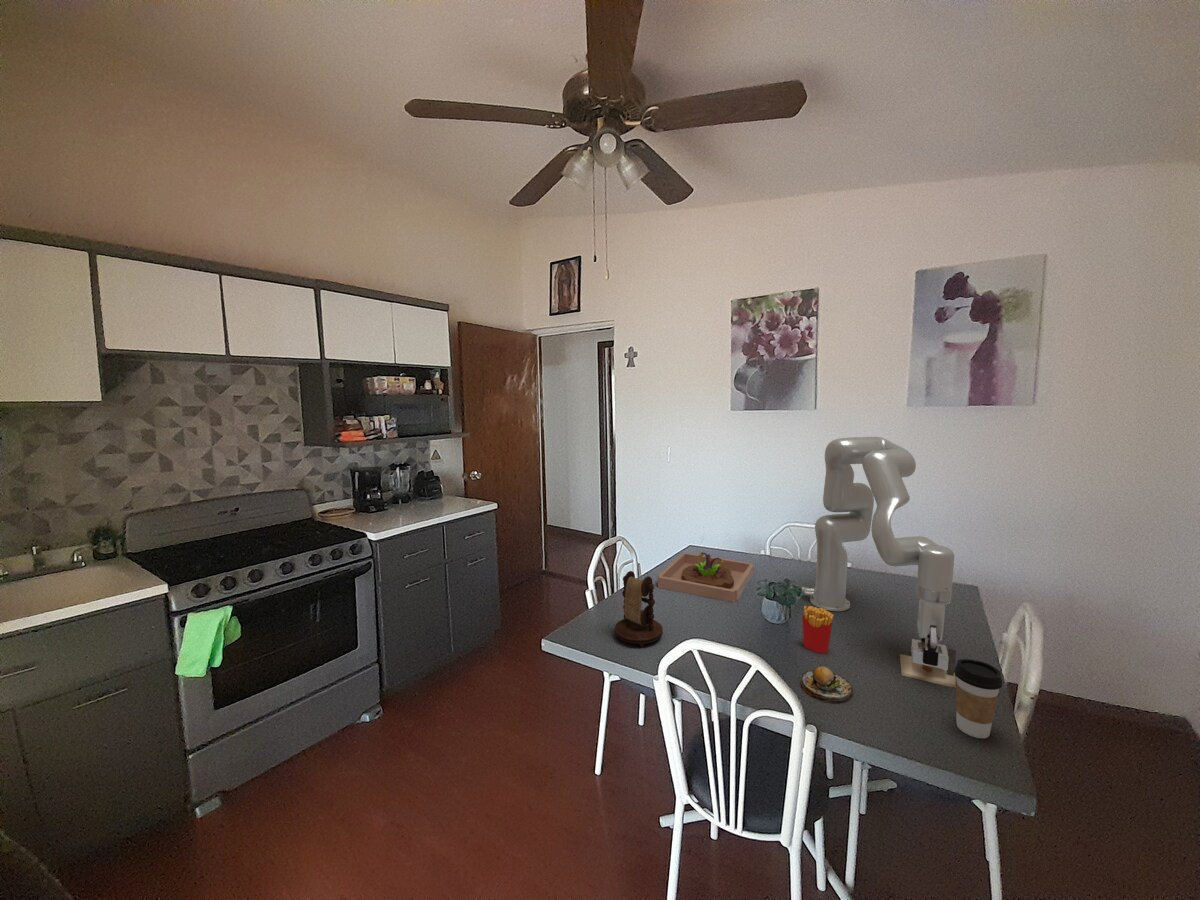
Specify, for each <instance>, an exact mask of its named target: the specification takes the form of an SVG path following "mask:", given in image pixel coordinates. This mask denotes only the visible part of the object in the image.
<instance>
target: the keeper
mask: <svg viewBox="0 0 1200 900" xmlns="http://www.w3.org/2000/svg"><path fill="white" fill-rule="evenodd" d="M924 648H925V645H924V647H923V649H924ZM956 649H957V648H956V647H955V646H950V645H949V646H948V649H947V653H948V657H949V660H948V670H945V669H940V668H936V667H931V666H927V665H922V664H917V663H913V662H912V655H907V654H902V653H901V654H900V653H899V659H900V671H901V672H900V673H901V674H900V675H901V676H903V677H906V678H911V679H916V680H920V681H925V682H928V683H931V684H935V685H941V686H945V687H949V688H955V689H956V686H955V681H956V675H955V673H954V670H955V667H956V665H955V664H956V656H957V650H956Z"/></svg>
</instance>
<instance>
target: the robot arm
mask: <svg viewBox="0 0 1200 900" xmlns="http://www.w3.org/2000/svg"><path fill="white" fill-rule="evenodd" d="M824 462H825V477H824V484H823V485H824V487H823V495H822V496H823V497H822V503H823V507H824V508H825V510H827V511H828V512H831V513H833V514H827V515H822V516H821V517H819V518H818V519H816V522H815V523H814V532H815V538H816V570H815V571H816V573H815V586H814V587H807V586H801V593H804V595H805V596H810V598H809V601H810V603H811V604H812V605H813V606H814V607H817V608H819V609H820V608H823V609H826V611H829V612H830V611H831V612H844V611H848V610H849V609H850V608H851V602H850V600H848V599H847V598H846V596H847V595H846V593H847V592H846V591H847V577H848V574H847V573H848V554H847V551H846V549H845V548H844V546H843V545H842V544H844V543H850V542H851V543H852V542H860V541H864V540H866V539H867V538H868V536H869V535H870V532H871V535H872V540H873V542H874V545H875V548H876V551H877V553H878V555H879V556H880V558H881V560H882V561H883V562H884V563H885V564H886V565H888V566H891V567H895V568H896V567H909V566H917V579H916V589H915V593H916V594H915V597H916V598H917V599H919V602H918V603H919V604H918V611H917V623H916V624H917V633H918V636H919V638H920V641H925V648H924V649H923V663H924V664H928V665H933V666H938V654H939V651H938V644H939V642H941V641H943V634H944V625H945V615H946V614H945V613H946V605H950V603H951V601H952V590H953V576H954V564H955V553H954V551H953V550H952V549H950V548H949V547H947V546H943V545H939V544H937V543H936V542H934V541H933V540H932V539H930V538H928V537H926V536H919V535H918V536H906V537H895V534H894V532H893V530H892V524H891V523H892V522H891V521H892V517H893V514H894V512H895V511H896V510H897V509H900V508H901V507H903V506H905V505H906V504H908V503H909V501H910V499H911V496H910V494H909V492H908V490H907V486H906V485H905V482H904V480H903V478H907V477H910V476H912V475H913V474H914V473H915V471H916V467H917V465H916V464H917V463H916V459H915V458H914V455H912V453H911V452H909V451H908V450H907V449H905V448H904V447H902V446H900V445H898V444H896V443H894V442H892V441H891V440H888V439H886V438H884V437H882V436H881V437H880V436H859V437H857V436H856V437H855V436H854V437H853V436H852V437H841V438H836V439H833V440H831V441H830V442H829V443H828V444H827V446H826V447H825V451H824ZM852 465H862V469H863V471H864V473H865V474H864V475H865V477H866V479H867V482H868V485H867V484H866V483H861V482H854V479H855V471H854V468H853V466H852ZM875 502H876V503H875ZM874 504H876V508H875V510H874V507H875V505H874ZM873 512H874V513H873ZM834 513H836V514H834ZM928 642H930V643H929V644H928Z"/></svg>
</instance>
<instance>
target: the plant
mask: <svg viewBox="0 0 1200 900" xmlns="http://www.w3.org/2000/svg"><path fill="white" fill-rule="evenodd" d="M698 555H699V557H702V556H703V555H704V556H706V561H705V562H704V564H703V563H702V562H700V564H695V565H692V566H688V567H687V568H685V569H684V570H683V571H682V580H684V581H690V582H695V583H700V584H706V585H711V586H716V587H722V588H732V587H733V586H734V579H733V577H732V575H731V571H729V570H728V569H726V568H724V567H719V566H720V564H717V565H715V566H713V562H714V561H715V560H716V559H719V560H720V563H721V564H722V563H723V560H722V559H720V558H721V557H716V558H714V559H713V560H712V561H710V557H712V556H711V554H709V553H708V554H707V553H706V552H702V551H701V552H700V553H698Z"/></svg>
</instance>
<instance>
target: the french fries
mask: <svg viewBox="0 0 1200 900" xmlns="http://www.w3.org/2000/svg"><path fill="white" fill-rule="evenodd" d="M801 619H802V620H801V622H802V637H803V638H802V639H803V646H804V648H806V649H808V650H810V651H813V652H815V653H817V654H827V652H829V649H830V647H829V646H830V642H831V635H832V630H833V619H834V614H833V613H831V612H830V611H829V610H826V609H823V608H819V607H816V606H814V605H813V606H810V605H809V606H807V605H804V606H803V615H802V616H801Z"/></svg>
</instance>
